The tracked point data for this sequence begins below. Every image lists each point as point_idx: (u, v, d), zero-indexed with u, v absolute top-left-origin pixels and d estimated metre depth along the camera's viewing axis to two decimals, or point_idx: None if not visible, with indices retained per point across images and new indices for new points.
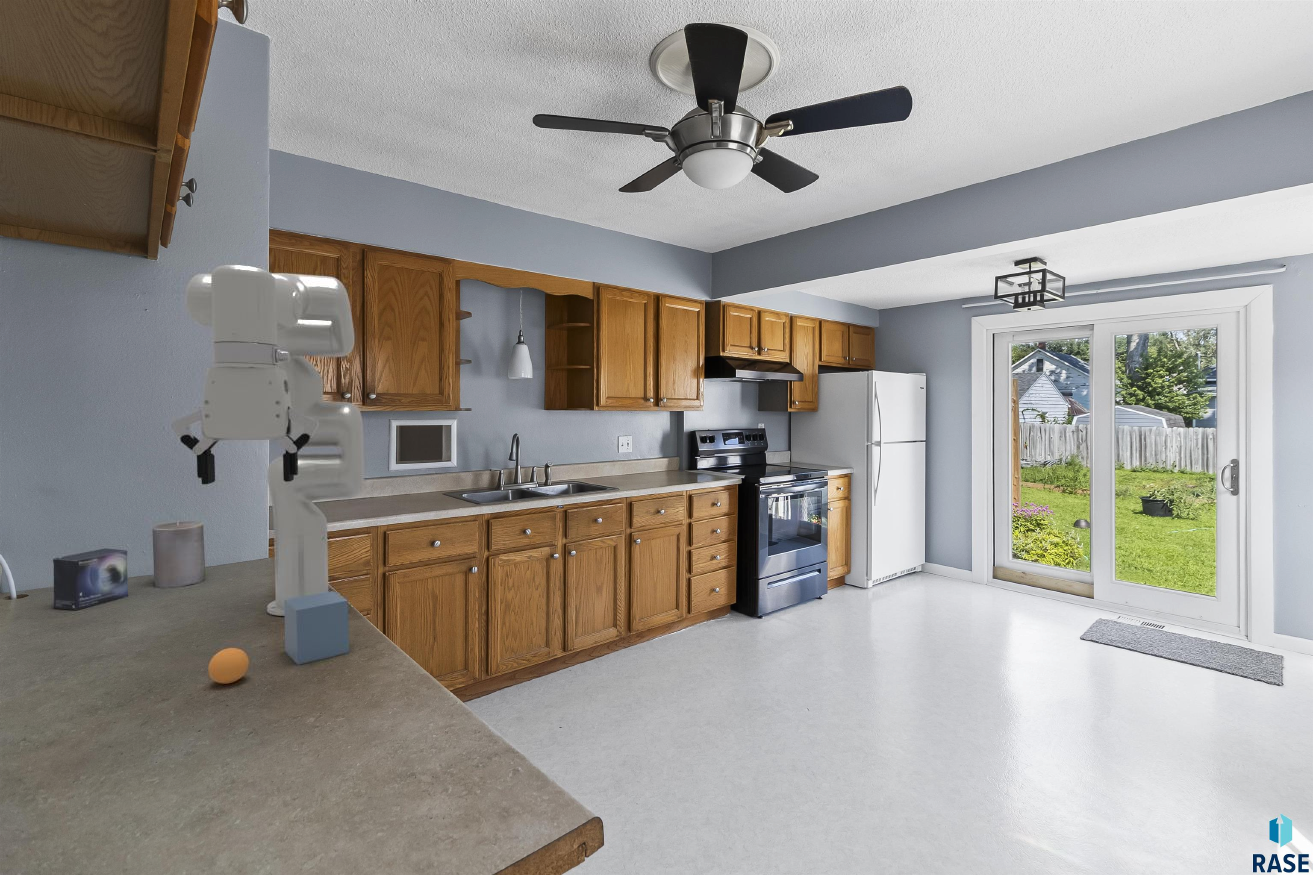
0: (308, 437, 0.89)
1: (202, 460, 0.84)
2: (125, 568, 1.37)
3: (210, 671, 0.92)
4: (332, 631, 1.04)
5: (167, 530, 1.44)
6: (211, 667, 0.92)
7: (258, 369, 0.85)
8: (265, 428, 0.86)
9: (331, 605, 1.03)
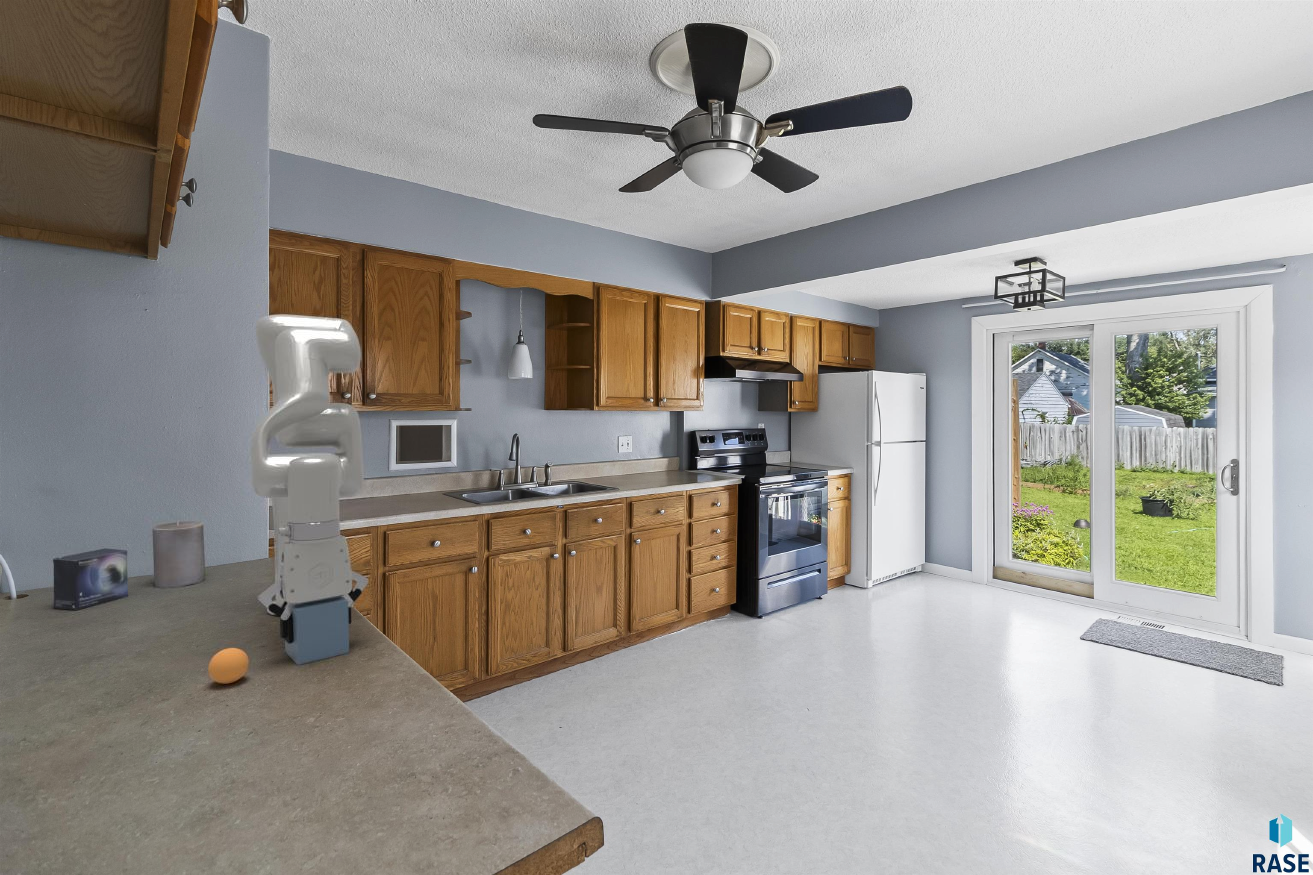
0: None
1: None
2: (125, 568, 1.37)
3: (210, 671, 0.92)
4: (332, 631, 1.04)
5: (167, 530, 1.44)
6: (211, 667, 0.92)
7: None
8: None
9: (331, 605, 1.03)
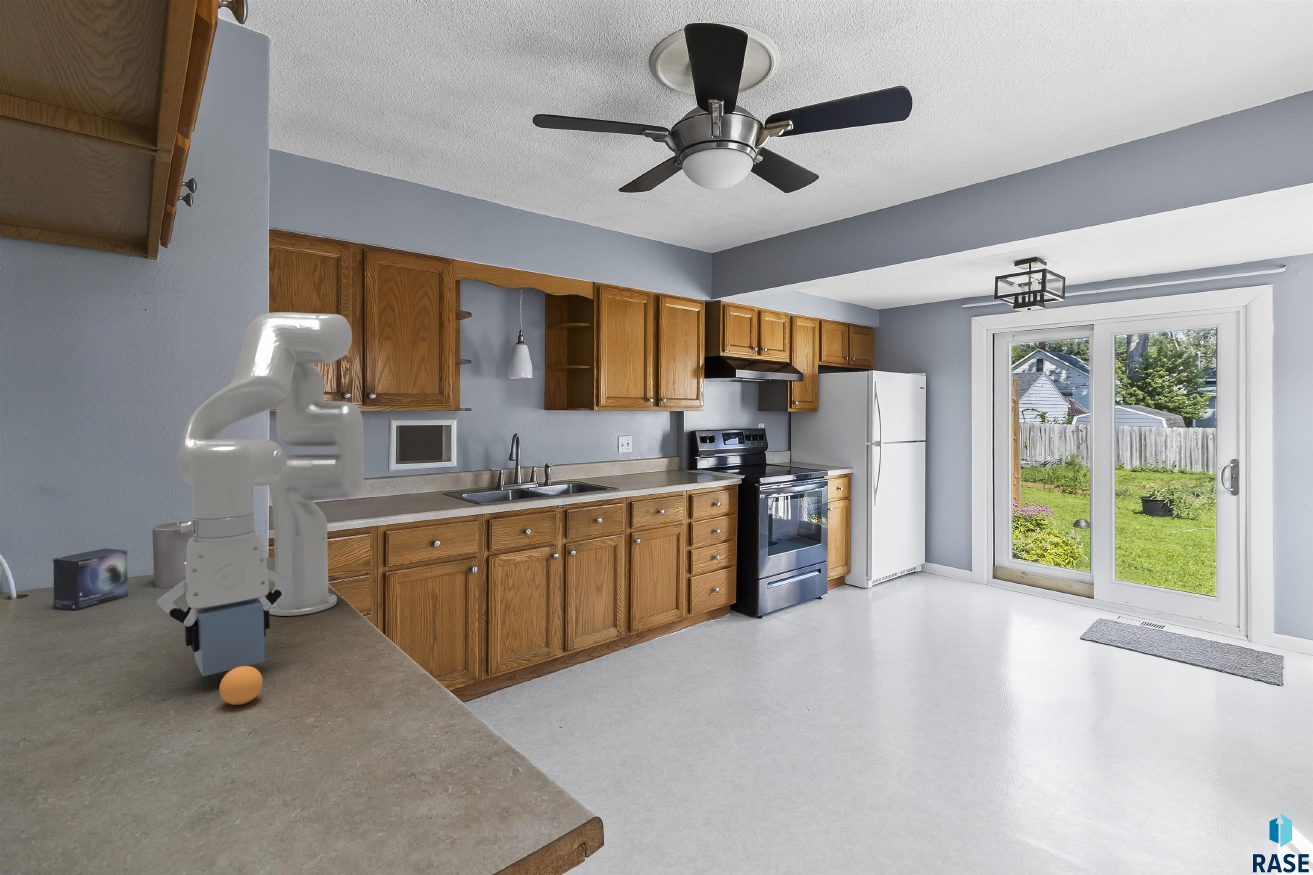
0: None
1: None
2: (125, 568, 1.37)
3: None
4: (245, 638, 0.93)
5: (167, 530, 1.44)
6: None
7: None
8: None
9: (243, 610, 0.93)
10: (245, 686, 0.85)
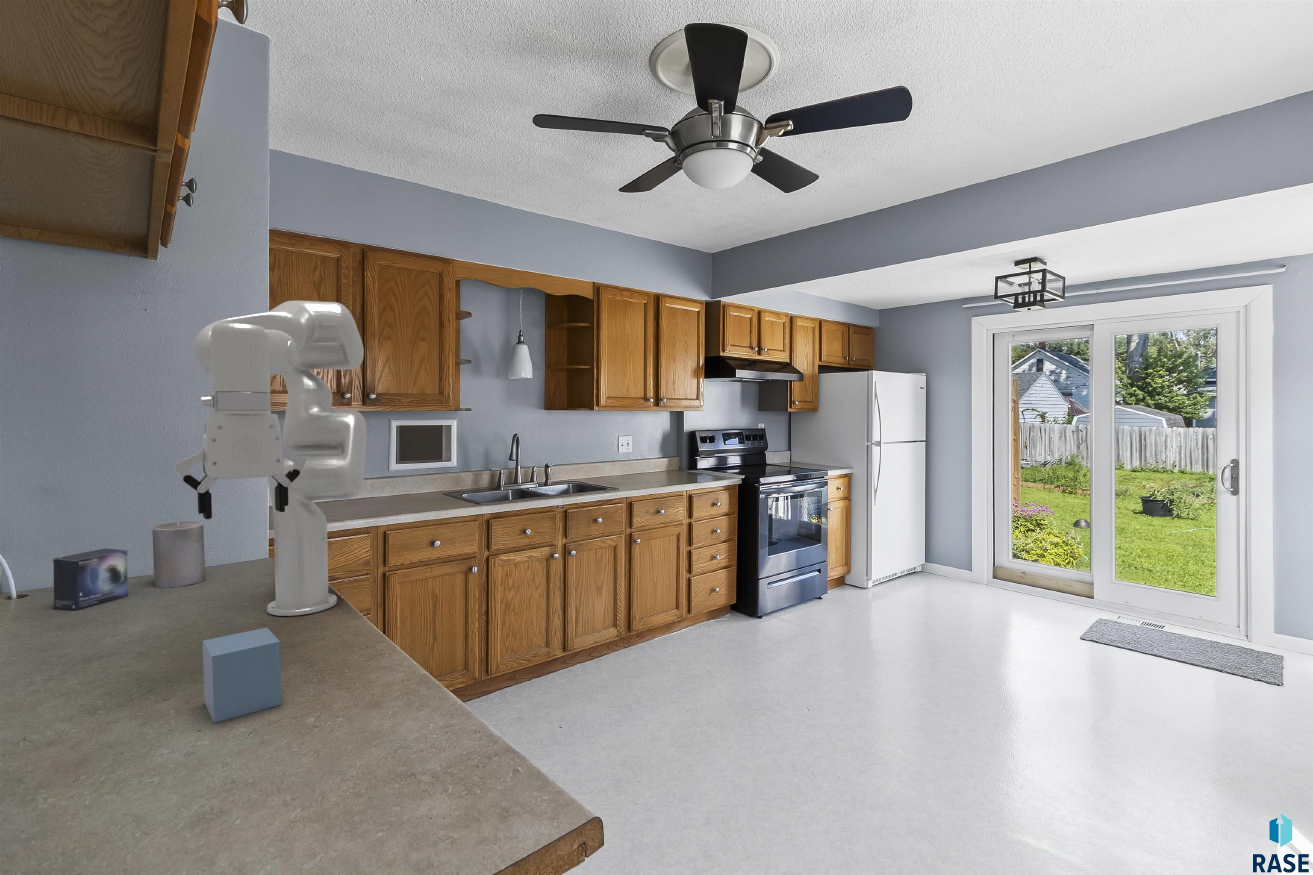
0: None
1: None
2: (125, 568, 1.37)
3: None
4: (260, 679, 0.85)
5: (167, 530, 1.44)
6: None
7: None
8: None
9: (258, 648, 0.85)
10: None
